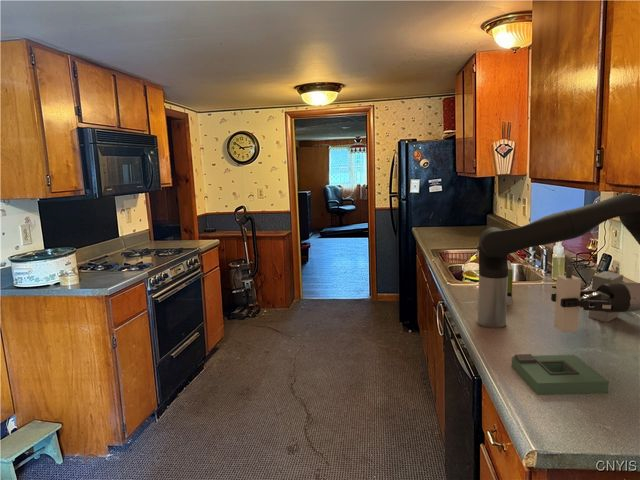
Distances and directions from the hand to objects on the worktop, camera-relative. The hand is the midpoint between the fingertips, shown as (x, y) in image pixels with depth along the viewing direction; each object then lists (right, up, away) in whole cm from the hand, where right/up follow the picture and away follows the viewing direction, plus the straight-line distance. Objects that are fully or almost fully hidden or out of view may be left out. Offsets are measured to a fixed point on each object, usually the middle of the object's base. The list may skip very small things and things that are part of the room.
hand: (556, 300), depth 116 cm
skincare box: (+38, -12, +41) cm, 57 cm away
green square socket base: (0, -20, 0) cm, 20 cm away
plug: (+3, -8, +2) cm, 8 cm away
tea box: (+10, -8, +65) cm, 66 cm away
